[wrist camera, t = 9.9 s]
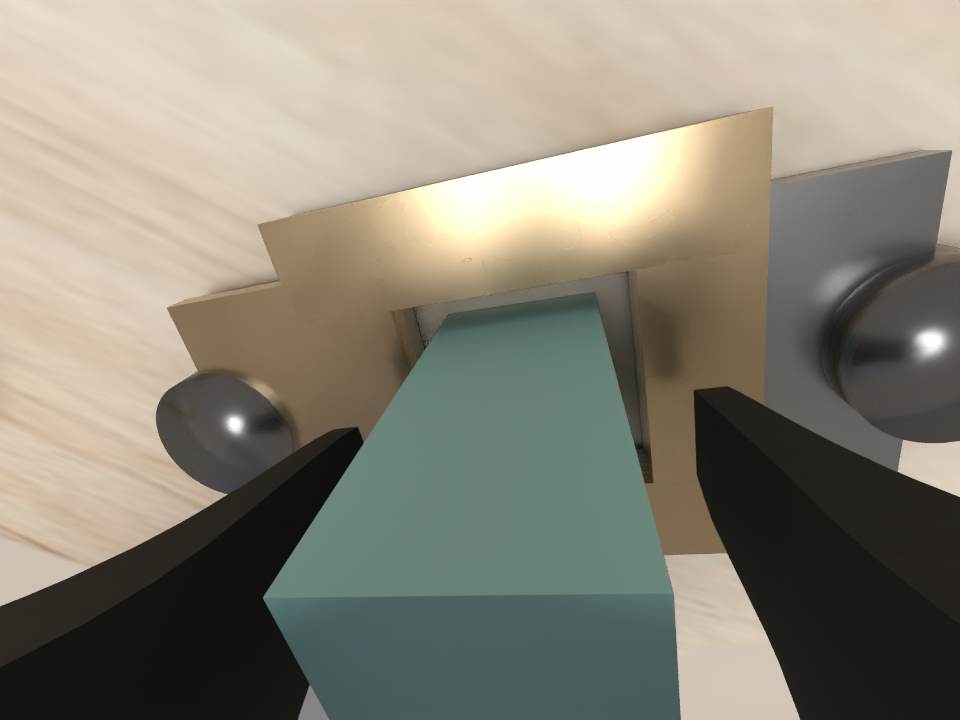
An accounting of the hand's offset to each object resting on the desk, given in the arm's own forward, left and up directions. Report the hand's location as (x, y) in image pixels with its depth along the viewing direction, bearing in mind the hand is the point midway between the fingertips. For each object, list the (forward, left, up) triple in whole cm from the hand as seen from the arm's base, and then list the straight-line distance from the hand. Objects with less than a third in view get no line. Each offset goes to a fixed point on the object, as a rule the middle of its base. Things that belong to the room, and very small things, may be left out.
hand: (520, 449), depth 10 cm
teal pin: (0, 0, -4) cm, 4 cm away
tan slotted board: (-3, 0, -4) cm, 5 cm away
